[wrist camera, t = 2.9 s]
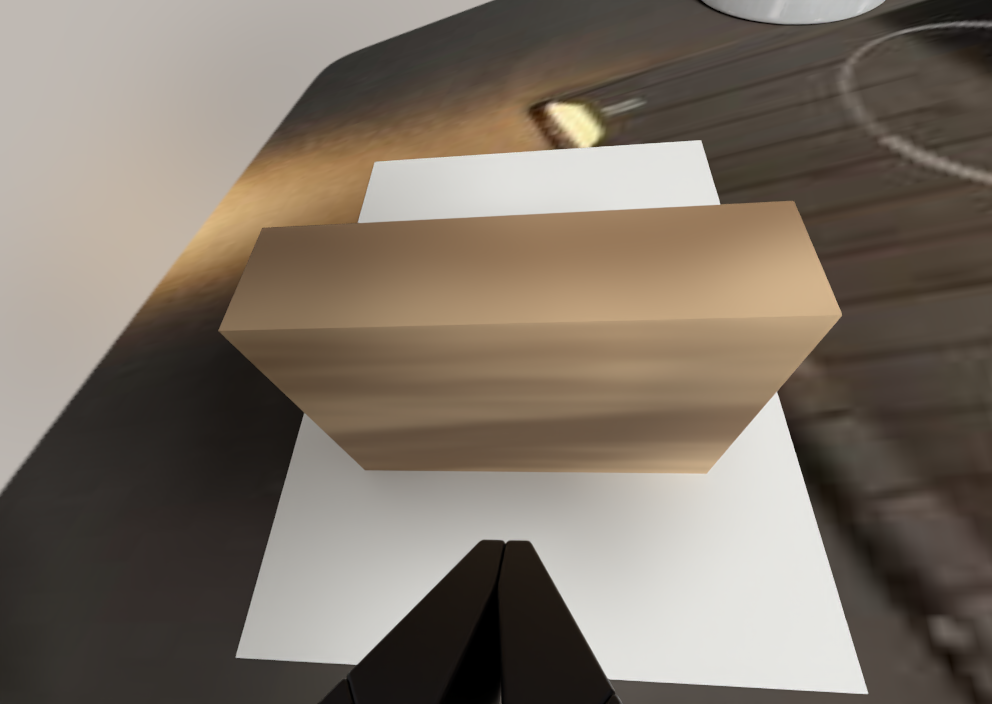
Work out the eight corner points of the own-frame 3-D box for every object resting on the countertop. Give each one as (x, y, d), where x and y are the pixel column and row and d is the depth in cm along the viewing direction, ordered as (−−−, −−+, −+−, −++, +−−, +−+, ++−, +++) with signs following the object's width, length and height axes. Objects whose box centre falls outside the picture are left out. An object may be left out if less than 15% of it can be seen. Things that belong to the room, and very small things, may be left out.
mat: (858, 692, 13) (867, 693, 13) (244, 657, 15) (235, 657, 15) (698, 148, 26) (700, 140, 25) (377, 169, 28) (374, 161, 27)
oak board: (706, 473, 16) (842, 315, 8) (365, 470, 17) (218, 330, 10) (691, 394, 18) (793, 200, 10) (379, 397, 19) (262, 227, 11)
